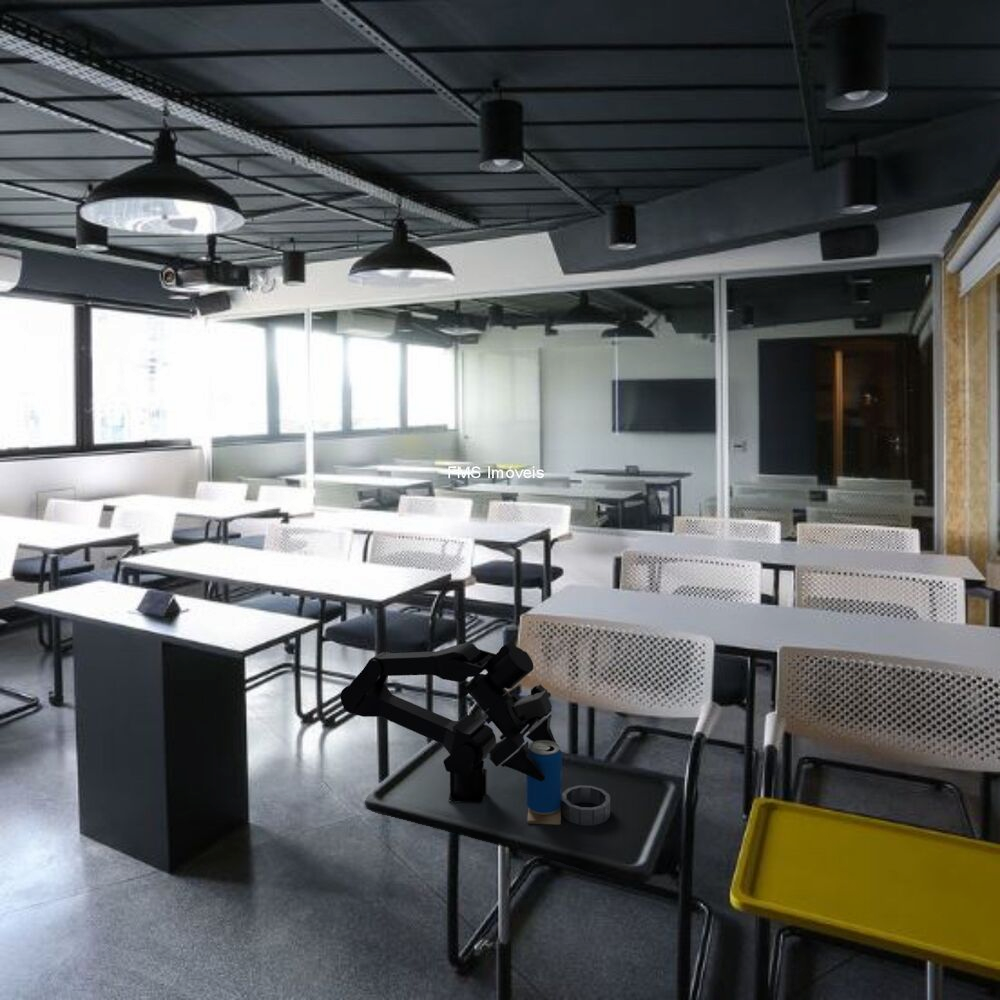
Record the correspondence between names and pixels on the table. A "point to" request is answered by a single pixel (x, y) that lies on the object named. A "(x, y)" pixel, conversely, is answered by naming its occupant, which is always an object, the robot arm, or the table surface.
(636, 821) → the table surface
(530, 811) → the cork pad
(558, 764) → the beverage can
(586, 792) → the ring
